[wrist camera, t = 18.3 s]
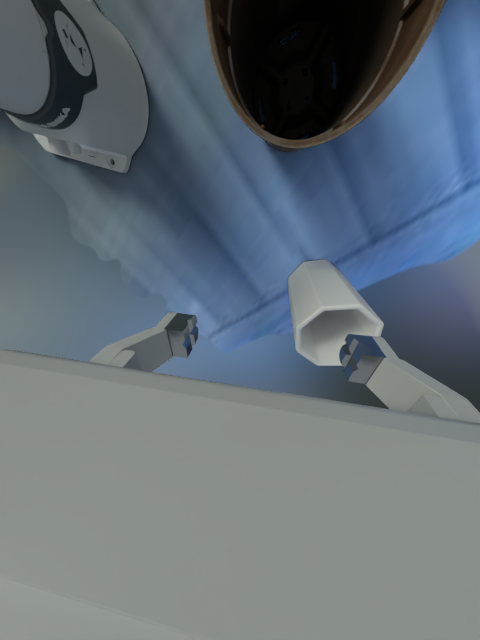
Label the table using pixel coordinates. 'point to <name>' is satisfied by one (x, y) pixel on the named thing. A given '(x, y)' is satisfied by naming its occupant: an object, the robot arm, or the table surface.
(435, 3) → the plant pot
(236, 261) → the table surface
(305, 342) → the cup
